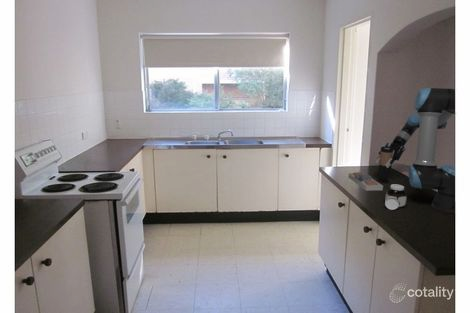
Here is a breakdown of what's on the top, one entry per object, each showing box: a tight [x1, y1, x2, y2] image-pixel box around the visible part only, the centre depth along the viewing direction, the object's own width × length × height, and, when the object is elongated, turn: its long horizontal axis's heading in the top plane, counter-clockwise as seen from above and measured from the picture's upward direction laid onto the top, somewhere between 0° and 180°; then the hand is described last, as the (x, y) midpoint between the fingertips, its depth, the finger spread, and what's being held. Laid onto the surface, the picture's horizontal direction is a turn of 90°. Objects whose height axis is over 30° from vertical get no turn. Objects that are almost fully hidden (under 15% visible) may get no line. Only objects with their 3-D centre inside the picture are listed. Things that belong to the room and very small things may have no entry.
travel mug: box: [377, 146, 394, 179], centre depth 226 cm, size 8×8×20 cm
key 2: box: [364, 179, 379, 185], centre depth 219 cm, size 6×6×3 cm
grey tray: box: [347, 172, 384, 192], centre depth 228 cm, size 28×11×3 cm, turn 4°
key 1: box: [353, 172, 364, 177], centre depth 237 cm, size 6×6×3 cm
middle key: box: [359, 173, 373, 181], centre depth 228 cm, size 6×6×3 cm
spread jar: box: [384, 183, 408, 211], centre depth 187 cm, size 12×11×12 cm
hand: (381, 165), depth 225 cm, fingers closed on travel mug, 7 cm apart
